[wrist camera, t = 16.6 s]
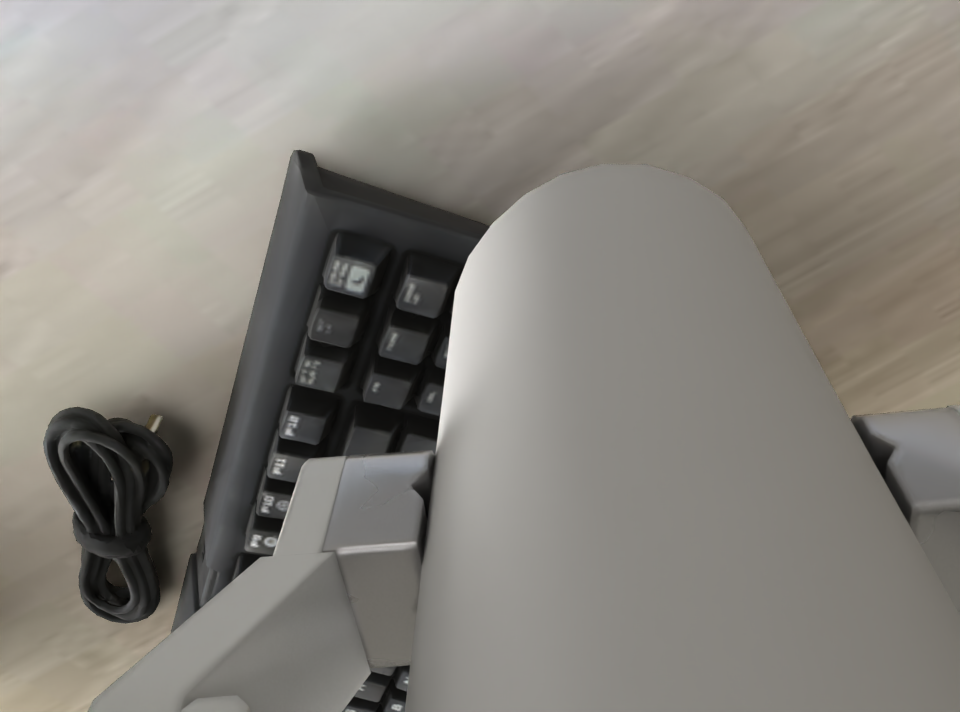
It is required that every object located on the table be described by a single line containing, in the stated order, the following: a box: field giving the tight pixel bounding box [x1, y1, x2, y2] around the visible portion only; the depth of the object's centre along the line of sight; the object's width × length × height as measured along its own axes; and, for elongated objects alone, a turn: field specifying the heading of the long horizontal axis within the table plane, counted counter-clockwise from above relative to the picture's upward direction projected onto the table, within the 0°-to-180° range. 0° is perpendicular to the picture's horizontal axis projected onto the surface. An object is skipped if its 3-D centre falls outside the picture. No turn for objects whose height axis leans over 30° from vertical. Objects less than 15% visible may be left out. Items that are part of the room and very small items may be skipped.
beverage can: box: [405, 164, 960, 712], centre depth 9 cm, size 5×5×12 cm
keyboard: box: [43, 150, 490, 712], centre depth 37 cm, size 37×22×5 cm, turn 160°
